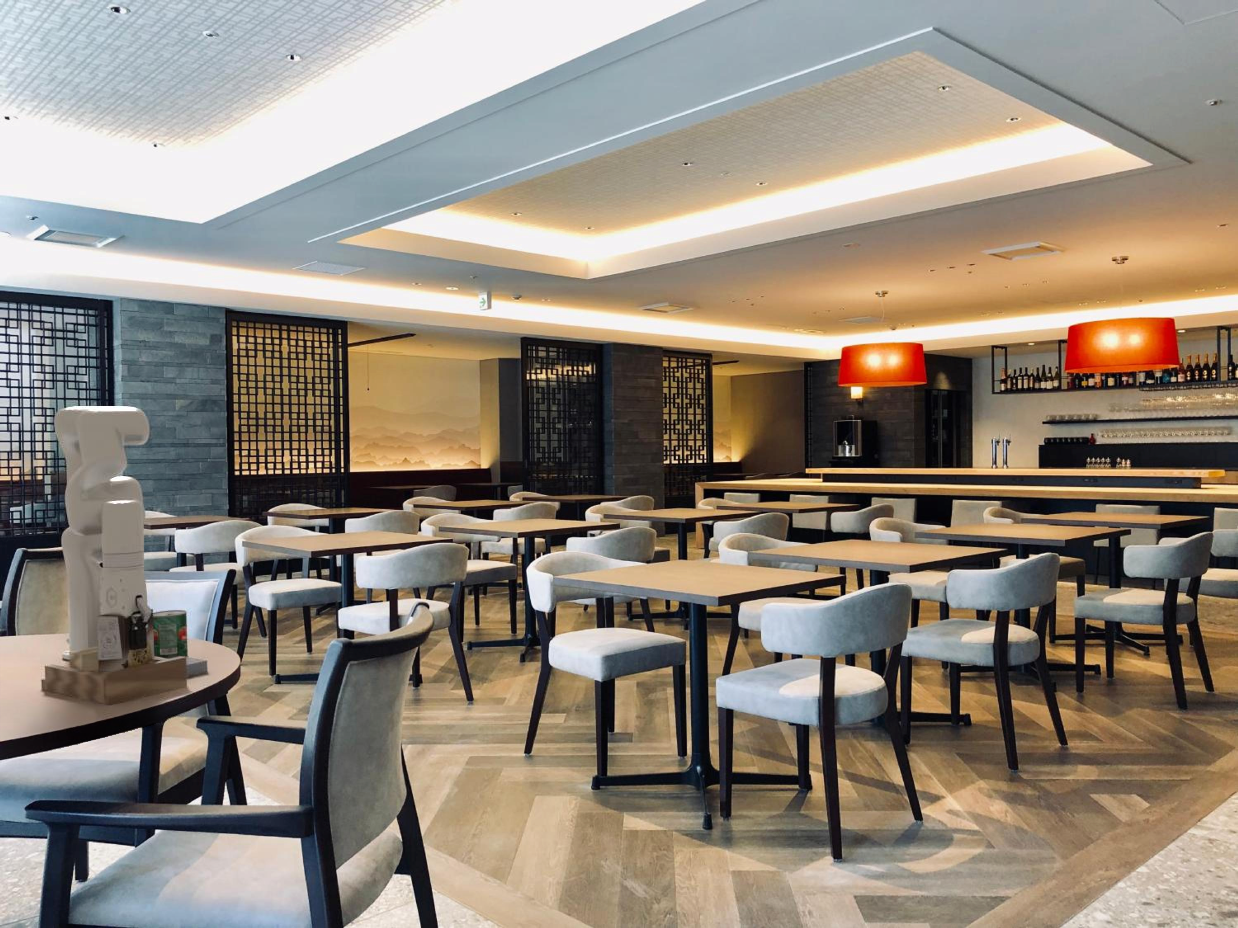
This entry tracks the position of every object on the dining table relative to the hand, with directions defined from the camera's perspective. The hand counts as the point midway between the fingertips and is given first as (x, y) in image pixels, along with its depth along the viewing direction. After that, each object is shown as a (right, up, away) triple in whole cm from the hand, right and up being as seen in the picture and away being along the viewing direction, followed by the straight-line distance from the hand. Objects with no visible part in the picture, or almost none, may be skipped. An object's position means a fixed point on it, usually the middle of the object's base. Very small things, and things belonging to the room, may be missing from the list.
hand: (126, 646), depth 197 cm
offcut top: (-10, -5, +7) cm, 13 cm away
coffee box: (0, -9, 0) cm, 9 cm away
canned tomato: (-4, -9, +28) cm, 30 cm away
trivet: (+4, -9, +15) cm, 17 cm away
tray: (-4, -9, +3) cm, 10 cm away
